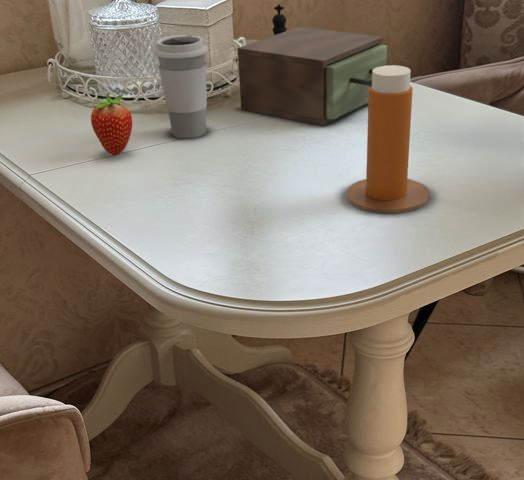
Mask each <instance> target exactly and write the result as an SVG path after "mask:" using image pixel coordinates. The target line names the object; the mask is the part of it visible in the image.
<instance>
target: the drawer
mask: <svg viewBox="0 0 524 480" xmlns="http://www.w3.org/2000/svg"><path fill="white" fill-rule="evenodd" d="M387 57H388V45H386V44H382V45H378V46H376V47H373V48H371V49H369V48H368V49H365V50H363V51H360V52H358V53H356V54H353V55H351V56H348V57H346V58H343V59H341V60H338V61H336V62H334V63H331V64H329V65H326V118H328V119H335V118H337V117H339V116H341V115H343V114H345V113H348V112H350V111H352V110H354V109H356V108H358V107H360V106H362V105H364V104H366V103H368V99H369V88H370V87H371V86H372V70H373V69H375V68H377V67H381V66H387V64H388V63H387V61H388V58H387Z"/></svg>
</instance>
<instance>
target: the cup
mask: <svg viewBox="0 0 524 480" xmlns="http://www.w3.org/2000/svg"><path fill="white" fill-rule="evenodd" d="M207 53H209V48H208V46H207V44H206V43H205V41H204V38H203V37H202V36H199V35H193V34H180V35H179V34H178V35H171V36H166V37H162V38H159V39H158V40H156V47H154V49H153V55H154V56H155V57H157V58H158V63H159V65H158V71H159V75H160V81H161V86H162V91H163V97H164V102H165V107H166V110H167V113H168V118H169V123H170V130H171V134H172V136H174V138H179V139H193V138H198V137H201V136H203V135H205V134H206V133H207V106H208V105H207V104H208V102H207V101H208V99H207V98H208V97H207V96H208V95H207V63H206V54H207Z"/></svg>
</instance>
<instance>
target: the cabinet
mask: <svg viewBox="0 0 524 480" xmlns="http://www.w3.org/2000/svg"><path fill="white" fill-rule="evenodd" d="M378 45H383V36H377V35H370V34H362V33H361V34H360V33H353V32H347V31H337V30H328V29H321V28H312V27H304V26H298V27H295V28H292V29H289V30H286V32H283V33H280V34H277V35H274V34H273V35H272V36H268V37H266V38H262V39H259V40H256V41H254V42H250V43H247V44H245V45H242V46H239V47H237V48H236V51H237V64H238V65H237V67H238V79H239V95H240V110H243V111H247V112H253V113H258V114H261V115H267V116H272V117H277V118H281V119H282V118H283V119H286V120H292V121H297V122H302V123H308V124H311V125H316V126H322V127H324V126H326V125H328V124H330V123H332V122H335V121H337V120H339V119H340V118H342V117H345V116H346V115H348V114H350V113H352V112H355V111H357V110H359V109H361V108H362V107H365V106H368V103H366V104H364V105H362V106H360V107H358V108H356V109H354V110H352V111H350V112H348V113H345V114H343V115H341V116H339V117H337V118H335V119H328V118H326V65H329V64H331V63H334V62H336V61H338V60H341V59H343V58H346V57H348V56H351V55H353V54H356V53H358V52H360V51H363V50H365V49H368V48H369V49H371V48H373V47H376V46H378Z"/></svg>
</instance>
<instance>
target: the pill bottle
mask: <svg viewBox="0 0 524 480" xmlns="http://www.w3.org/2000/svg"><path fill="white" fill-rule="evenodd" d="M411 72H412V71H411V69H410V68H409V67H406V66H402V65H396V64H395V65H393V64H391V65H386V66H381V67H377V68H375V69H373V70H372V86H371V87H370V88H369V99H368V104H367V134H366V135H367V136H366V137H367V138H366V140H367V141H366V142H367V143H366V173H365V174H366V175H365V179H366V194H367V195H368V196H370V197H372V198H374V199H379V200H394V199H399V198H401V197H403V196H405V195H406V193H407V179H408V173H409V159H410V140H411V138H410V137H411V123H412V108H413V107H412V106H413V92H414V91H413V90H414V89H413V87H412V86H411Z"/></svg>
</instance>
